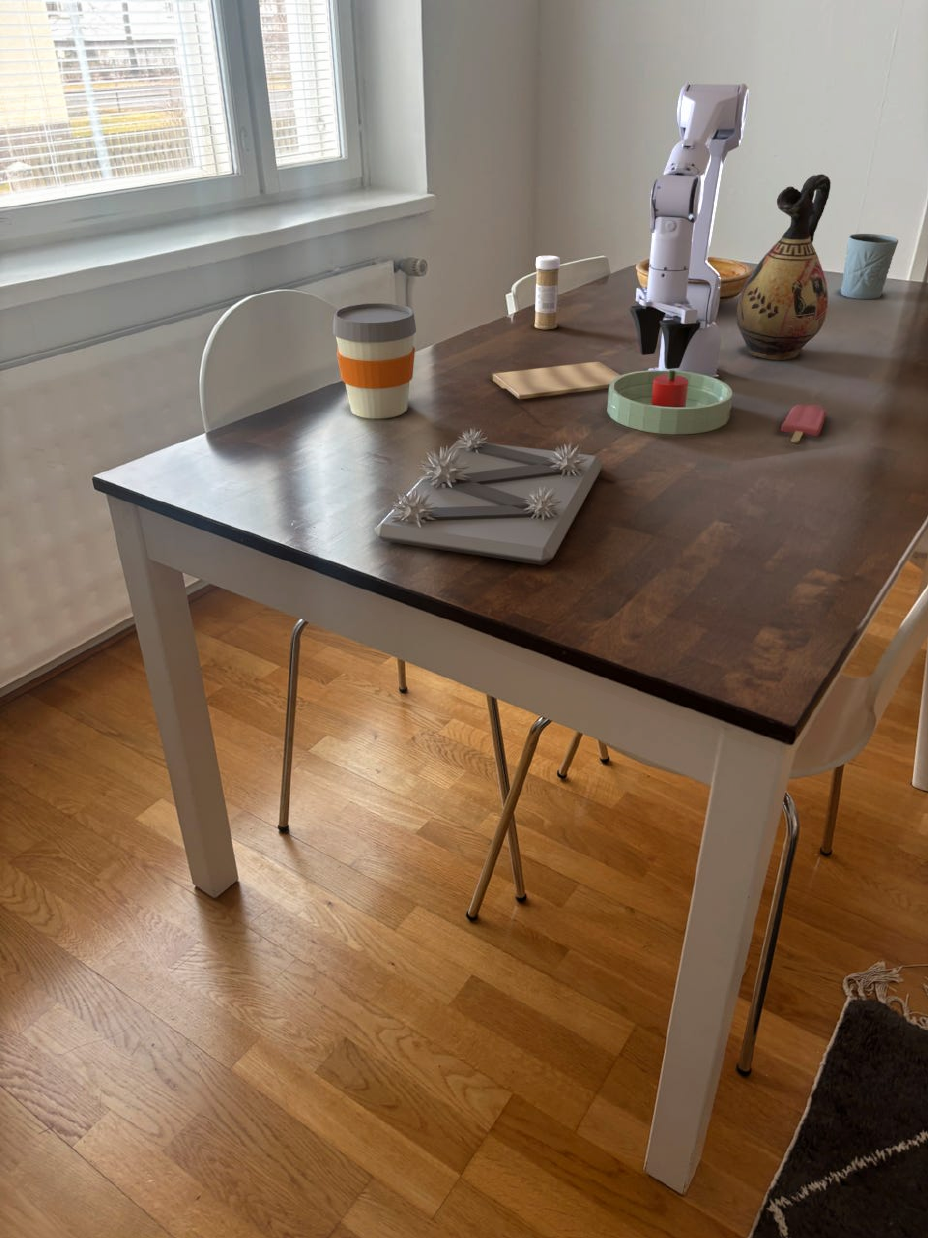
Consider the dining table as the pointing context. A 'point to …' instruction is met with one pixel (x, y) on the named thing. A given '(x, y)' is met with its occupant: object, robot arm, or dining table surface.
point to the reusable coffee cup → (376, 356)
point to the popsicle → (804, 421)
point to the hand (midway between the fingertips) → (659, 360)
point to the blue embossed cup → (867, 265)
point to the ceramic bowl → (728, 270)
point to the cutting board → (556, 379)
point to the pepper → (670, 390)
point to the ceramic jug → (787, 281)
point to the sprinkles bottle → (546, 292)
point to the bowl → (700, 414)
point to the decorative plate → (493, 500)
